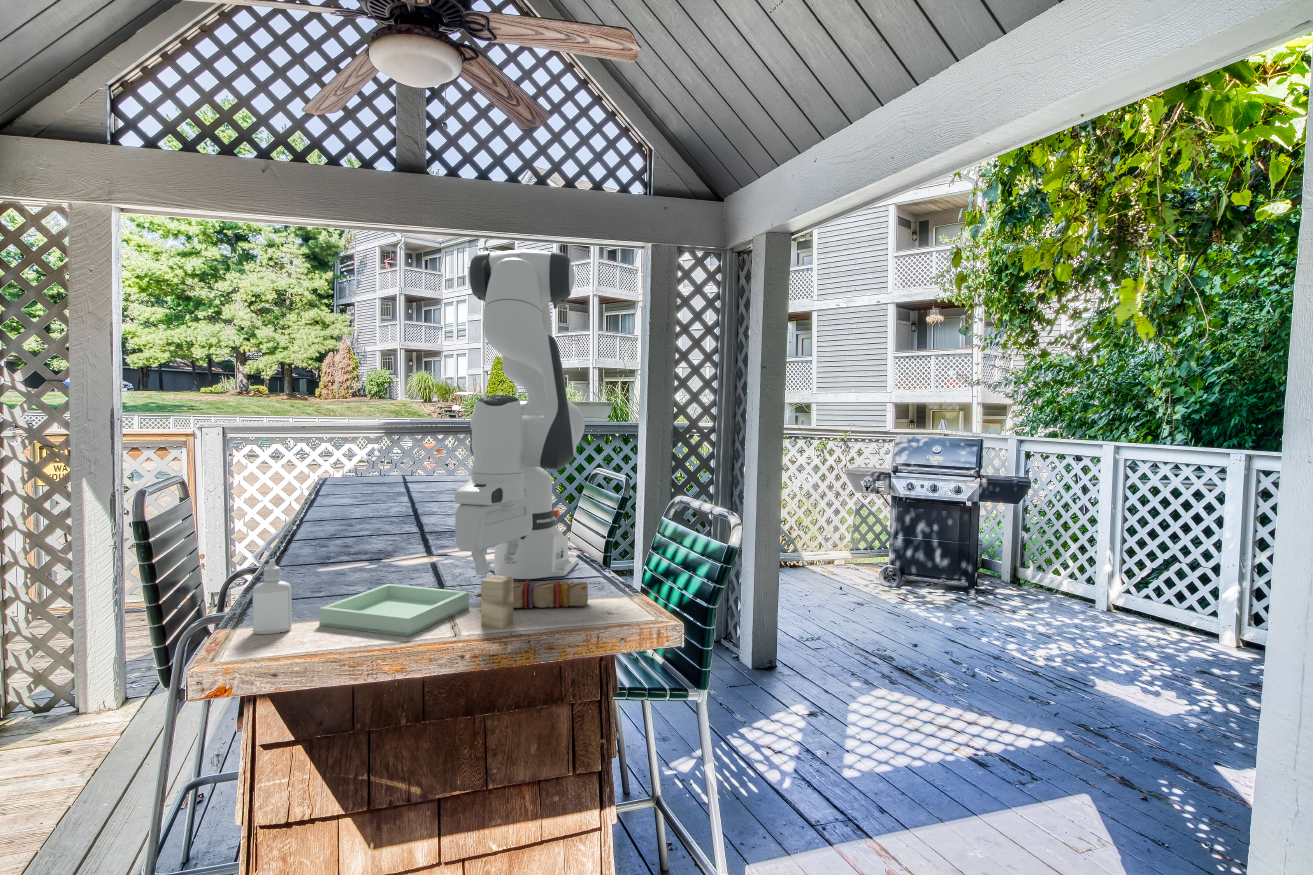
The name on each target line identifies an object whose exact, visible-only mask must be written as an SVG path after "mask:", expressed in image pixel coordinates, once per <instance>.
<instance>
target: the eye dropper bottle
mask: <svg viewBox="0 0 1313 875" xmlns="http://www.w3.org/2000/svg"><path fill="white" fill-rule="evenodd" d="M268 561H269V562H268V565H267V566H266V567H264V568H263V581H262V582H260V583H258V584H256V585H255V586H254V587H253V589H252V632H253V634H255V635H274V634H275V635H276V634H279V633H280V632H282V633H285V632H289V631H290V630H291V628H292V626H293V622H292V621H293V620H292V615H293V614H292V611H293V610H292V607H293V606H292V586H291V584H290V583H289V582H288V581H284V580H281V567H280V566H278V565H276V562H275V559H269V560H268Z"/></svg>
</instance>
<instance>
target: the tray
mask: <svg viewBox="0 0 1313 875" xmlns="http://www.w3.org/2000/svg"><path fill="white" fill-rule="evenodd" d="M469 608H470V592H469V591H463V590H453V589H443V588H435V587H434V588H432V587H423V586H413V585H403V584H394V583H387V584H383V585H380V586H377V587H374V588H372V589H370V590H367V591H364V592H360V593H358V594H355V595H353V596H349V597H347V598H344V599H342V600H341V599H340V600H338V601H336V602H333V603H330V604H327V605H324V606H322V607H321V606H320V607H319V608H318V609H319V610H318V615H319V617H318V618H319V619H318V620H319V626H320V627H328V628H336V629H343V630H344V629H345V630H354V631H360V632H369V633H377V634H384V635H393V636H398V637H399V636H401V637H408V638H409V636H410V637H411V636H414V635H416V634H418V633H420V632H421V631H424V630H426V629H428V628H430V627H432V626H434V625H436V624H439V623H440V621H441V622H443V621H445V620H446V619H449V618H451V617H453V616H455V615H457V614H459V613H461V612H463V611H465V610H467V609H469ZM444 619H445V620H444ZM442 620H443V621H442ZM431 625H432V626H431Z"/></svg>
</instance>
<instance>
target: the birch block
mask: <svg viewBox="0 0 1313 875" xmlns="http://www.w3.org/2000/svg"><path fill="white" fill-rule="evenodd" d="M480 582H481V583H480V585H481V587H480V589H481V590H480V594H481V597H480V601H481V602H480V603H481V605H480V606H481V607H480V613H481V614H480V617H481V618H480V622H481V623H480V625H481V627H486V628H495V629H503V628H506V627H507V626H509V625H510V624H512V623H514V608H513V582H514V579H513V577H509V576H498V575H496V574H493V575H490V576H487V577H485V578H483V579H481V580H480Z"/></svg>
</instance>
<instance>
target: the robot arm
mask: <svg viewBox="0 0 1313 875" xmlns="http://www.w3.org/2000/svg"><path fill="white" fill-rule="evenodd" d="M571 262H572V261H571V259H570V257H569V256H568V255H567V254H565V253H563V252H559V251H554V250H553V251H551V252H547V251H542V250H534V249H533V250H532V249H520V250H501V251H493V252H492V251H490V250H489V251H487V250H486V251H483V252H479V253H476V254H475V256H473V257H472V259H471V260H470V264H469V269H468V273H467V277H468V282H469V283H468V284H469V286H470V289H471V293H472V294H473V296H474V297H476V298H477V299H478V300H479V301H482V302H484V308H483V310H484V311H483V330H484V331H483V332H484V336H485V338H486V340H487V341H488V343H489V345H490V346H491V347H492V348H493V350H495V351H496V352H498V353H499V354H500V355H502V356H501V357H502V358H501V359H502V361H501V362H502V371H503V373H504V375H505V377H506V378H508V380H509V381H511V382H513V383H514V384H516V385H518V386H520V387H522V388H523V389H524V390H525V392H526V393H527V398H528V400H521V399H519V398H518V397H516V396H513V395H506V394H492V395H484V396H481V397H479V398H477V400H476V401H475V405H474V410H473V412H472V415H471V418H470V423H469V424H470V431H469V433H470V435H469V436H470V437H469V438H470V439H469V449H470V450H469V451H470V454H472V456H473V464H472V467H471V474H470V475H471V478H469V479H468V480H467V482H465V483H464V484H463V485H462V486H461V487H459V488H458V489H456V491H455V492H454V502H455V504H457V505H458V506H457V508H456V510H455V511H456V512H455V521H454V522H455V523H454V524H455V525H454V526H455V527H454V528H455V543H456V546H457V548H458V550H459V551H461V552H469V553H471V558H472V560H473V562H474V564H475V574H476V575H477V576H485V575H488V574H489V573H490V571H492V572H494V575H498V576H509V577H513V580H514V579H515V580H533V579H534V580H535V579H542V578H550V577H564V576H566V575H568V573H570V572H571V570H572V569H573V568H575V566H576V565H577V564H578V563H579V559H578V558H576V557H573V556H569V540H568V539H567V537H566V536H564V534H563V533H562V532H561V531H560V530H559V529H558V528H557V527H556V524H557V523H556V522H557V521H556V519H558V518H560V512H561V511H560V510H559V509H552V508H553V479H552V478H551V477H552V476H551V475H550V474H549V472H548V471H547V470H557V471H558V470H561V469H563V468H564V467H566V466H567V465H568V464H569V463H571V462H572V461H573V459H574V458H575V455H576V451H577V445H578V444H579V442H580V441H581V440H582V437H583V436H584V433H585V429H586V428H585V426H586V425H585V419H584V416H583V413H582V411H581V410H580V408H579V407H578V406H577V405H576V404H574V403H573V402H572V401H571V400H569V398H568V394H567V389H566V388H567V386H566V382H565V375H564V368H563V364H562V360H561V354H560V353H561V352H560V348H559V345H558V342H557V341H556V338H555V337H554V336H553V325H552V324H553V323H552V316H551V308H550V305H549V303H552V306H553V310H556V309H558V305H561V304H563V303H565V302H566V301H567V300H568V299H569V298H570V297H571V295H572V291H573V289H574V286H575V281H576V275H575V274H576V273H575V270H574V267H573V264H572V263H571ZM546 469H547V470H546ZM493 547H494V557H493V563H492V564H491V563H490V562H489V563H488V561H487V558H486V555H487V554H488V549H489V548H493Z"/></svg>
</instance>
